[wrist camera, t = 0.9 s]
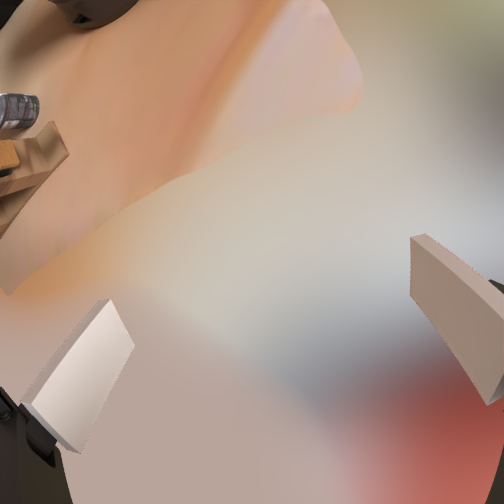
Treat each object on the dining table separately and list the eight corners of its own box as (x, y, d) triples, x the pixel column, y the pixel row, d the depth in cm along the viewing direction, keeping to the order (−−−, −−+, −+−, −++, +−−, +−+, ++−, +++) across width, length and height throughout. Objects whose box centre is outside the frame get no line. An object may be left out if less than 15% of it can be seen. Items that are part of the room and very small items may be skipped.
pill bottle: (28, 90, 30) (-18, 88, 19) (45, 100, 31) (-4, 98, 20) (16, 121, 32) (-30, 125, 21) (32, 132, 33) (-16, 138, 22)
